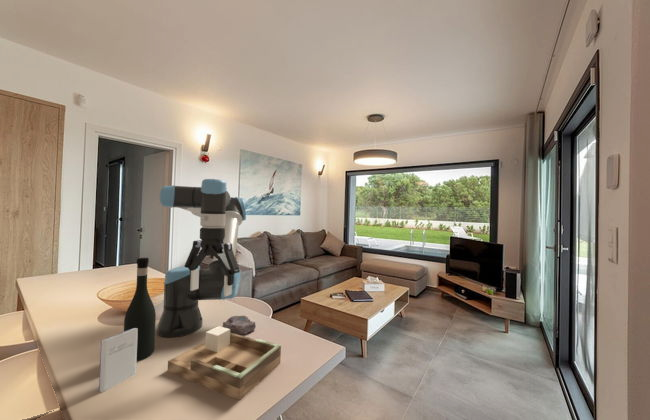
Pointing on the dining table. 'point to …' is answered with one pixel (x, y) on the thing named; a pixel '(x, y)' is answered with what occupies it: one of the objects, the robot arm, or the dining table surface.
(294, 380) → the dining table surface
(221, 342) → the block
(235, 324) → the rock
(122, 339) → the hard drive
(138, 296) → the wine bottle
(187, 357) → the wooden tray
